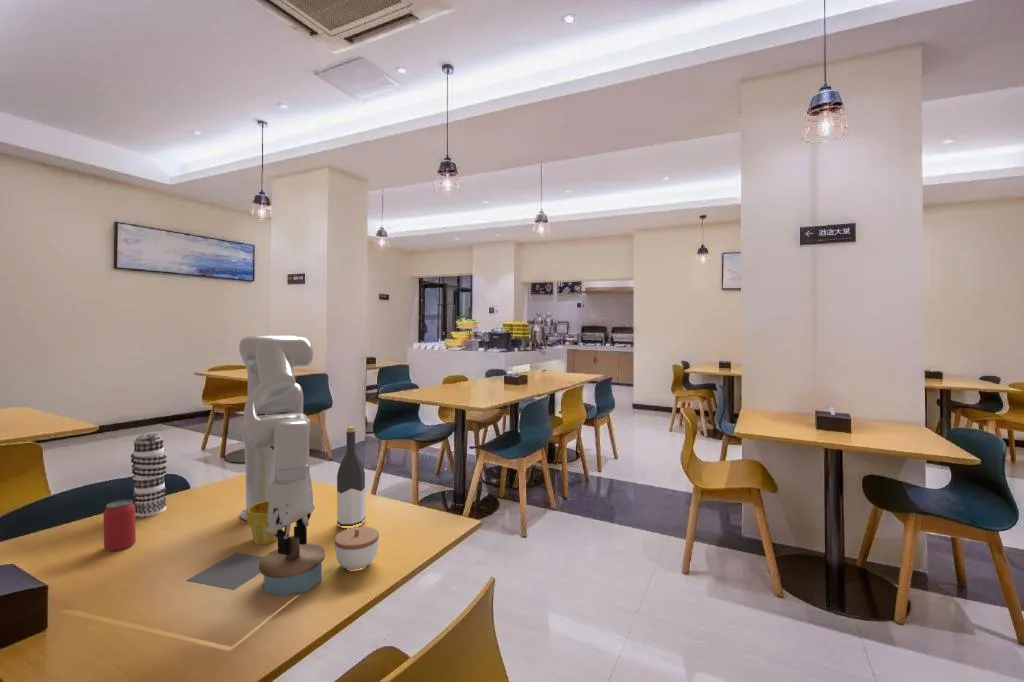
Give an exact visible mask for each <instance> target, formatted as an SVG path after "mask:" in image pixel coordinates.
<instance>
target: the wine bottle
mask: <svg viewBox="0 0 1024 682" xmlns="http://www.w3.org/2000/svg"><path fill="white" fill-rule="evenodd" d="M345 434H346V453H345V455H344V457H343V459H342V460H341V462H340V465H339V467H338V471H337V474H336V509H337V510H336V513H337V514H336V518H337V519H336V521H337V523H338V524H339V525H340V526H353V525H356V524H359V523H362V521H363V520H364V519H365V520H366V472H365V467H364V466H363V462H362V460H361V458H360V456H359V455H358V454H357V452H356V431H355V426H354V425H352V426H351V425H350V426H347V429H346V431H345ZM337 523H336V524H337ZM338 524H337V525H338Z"/></svg>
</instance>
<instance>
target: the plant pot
mask: <svg viewBox="0 0 1024 682" xmlns="http://www.w3.org/2000/svg"><path fill="white" fill-rule="evenodd" d="M268 504H269V500H268V501H263V502H259V503H256V504H253V505H252V506H250V507H249V508H248V509H247V520H246V522H247V523H248V524H249V525H250V529H251V533H252V537H253V538H252V539H253V543H255V544H257V545H266V544H268V545H269V544H271V543H274V542H278V538H276V537H275V535H273V534H271V533H268V532H267V529H268V527H269V523H268ZM283 529H284V527H282V530H283ZM283 531H284V530H283Z"/></svg>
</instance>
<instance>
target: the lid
mask: <svg viewBox="0 0 1024 682" xmlns="http://www.w3.org/2000/svg"><path fill="white" fill-rule="evenodd" d="M290 537H291V554H290V555H284V554H279V553H278V548H276V549H274V550H272V551H270V552H268V553H267V554H265V555H264V556H262V557H263V558H262V559H261V560H260V562H259V571H260V572H261V573H260V574H261V575H263V576H264V575H265V576H268V577H274V578H282V577H291V576H295V575H299V574H302V573H305V572H308V571H310V570H312V569H314V568H315V567H317V566H318V565H319V564H321V565H322V563H323V561H324V560H325V556H326V554H325V549H324V548H323V547H322V546H321V545H319V544H316V543H306V544H305V545H302V544H300V537H299V536H294V535H291V536H290Z"/></svg>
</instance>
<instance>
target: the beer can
mask: <svg viewBox="0 0 1024 682" xmlns="http://www.w3.org/2000/svg"><path fill="white" fill-rule="evenodd" d="M133 501H134V500H133V499H120V500H115V501H112V502H110V503H107V504H106V505H105V509H104V511H103V518H102V519H103V548H104V550H105V551H108V552H117V551H121V550H125V549H128V548H129V547H132V546H133V545H134V544H135V543H136V541H137V540H136V535H137V533H136V531H137V530H136V516H135V507H134V505H133V503H134V502H133Z"/></svg>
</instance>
